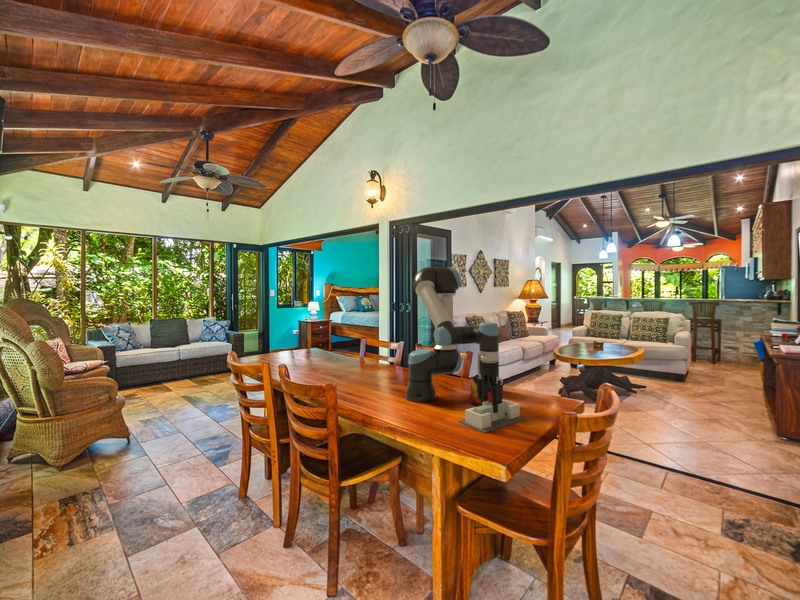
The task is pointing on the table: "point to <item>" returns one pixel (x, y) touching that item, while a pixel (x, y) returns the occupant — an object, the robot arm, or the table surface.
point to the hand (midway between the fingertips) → (489, 418)
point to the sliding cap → (511, 409)
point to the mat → (495, 423)
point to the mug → (474, 398)
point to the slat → (487, 409)
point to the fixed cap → (477, 418)
